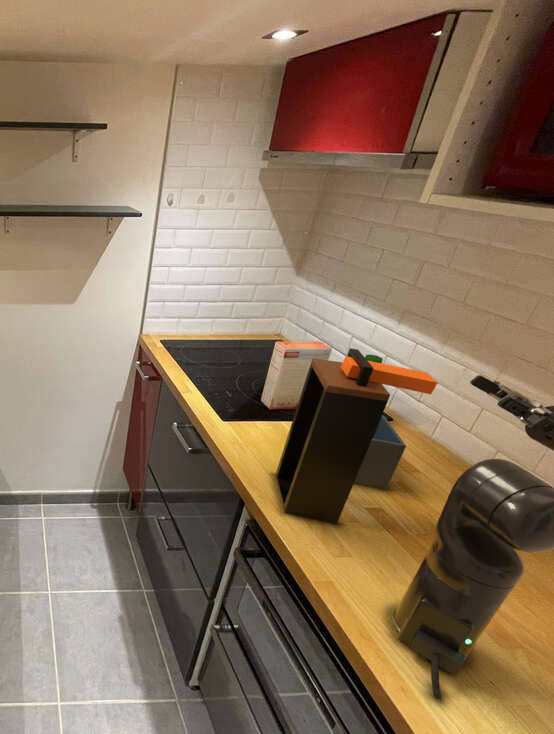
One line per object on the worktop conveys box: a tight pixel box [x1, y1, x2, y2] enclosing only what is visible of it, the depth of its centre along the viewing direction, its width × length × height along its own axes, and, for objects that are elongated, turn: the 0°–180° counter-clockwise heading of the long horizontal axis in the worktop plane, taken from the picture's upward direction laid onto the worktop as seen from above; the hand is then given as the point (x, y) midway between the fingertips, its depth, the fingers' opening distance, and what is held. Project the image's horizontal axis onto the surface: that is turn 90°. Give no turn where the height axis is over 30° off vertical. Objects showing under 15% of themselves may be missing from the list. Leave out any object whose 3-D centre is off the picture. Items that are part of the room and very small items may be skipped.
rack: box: [274, 348, 391, 525], centre depth 95 cm, size 10×13×36 cm
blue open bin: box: [354, 415, 407, 490], centre depth 110 cm, size 13×13×13 cm
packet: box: [341, 355, 439, 395], centre depth 86 cm, size 14×4×3 cm, turn 71°
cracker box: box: [260, 340, 333, 410], centre depth 136 cm, size 14×6×21 cm, turn 92°
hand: (488, 389), depth 82 cm, fingers open, 8 cm apart
